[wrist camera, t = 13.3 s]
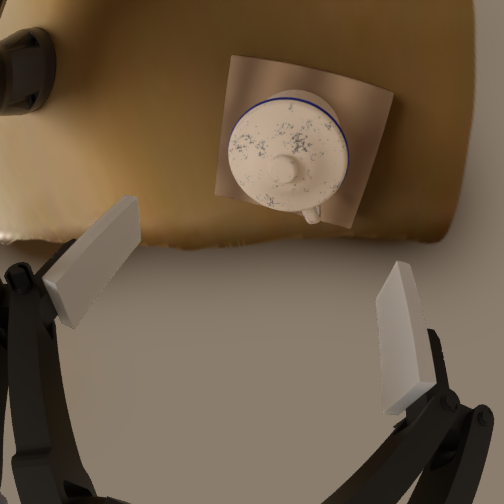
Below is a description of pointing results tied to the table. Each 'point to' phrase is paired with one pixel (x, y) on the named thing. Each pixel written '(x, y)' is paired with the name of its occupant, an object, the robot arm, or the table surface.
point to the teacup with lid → (289, 153)
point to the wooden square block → (342, 102)
